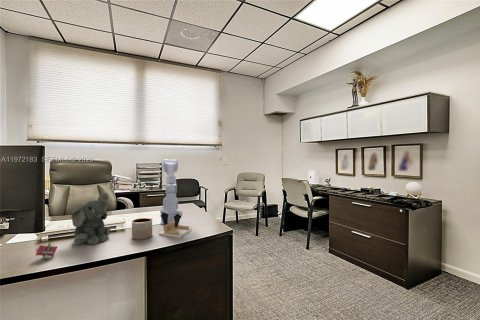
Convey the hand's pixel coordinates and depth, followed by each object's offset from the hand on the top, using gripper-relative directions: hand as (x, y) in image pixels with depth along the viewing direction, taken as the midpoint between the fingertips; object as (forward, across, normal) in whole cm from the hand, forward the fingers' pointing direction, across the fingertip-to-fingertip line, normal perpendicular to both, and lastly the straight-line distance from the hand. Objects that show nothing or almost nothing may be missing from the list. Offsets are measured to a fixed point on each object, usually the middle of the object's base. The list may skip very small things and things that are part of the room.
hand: (171, 226), depth 140 cm
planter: (+4, -11, -12) cm, 17 cm away
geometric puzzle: (+4, -31, -49) cm, 58 cm away
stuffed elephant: (+4, -33, -26) cm, 42 cm away
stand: (+4, +3, 0) cm, 5 cm away
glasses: (+2, +4, 0) cm, 5 cm away
